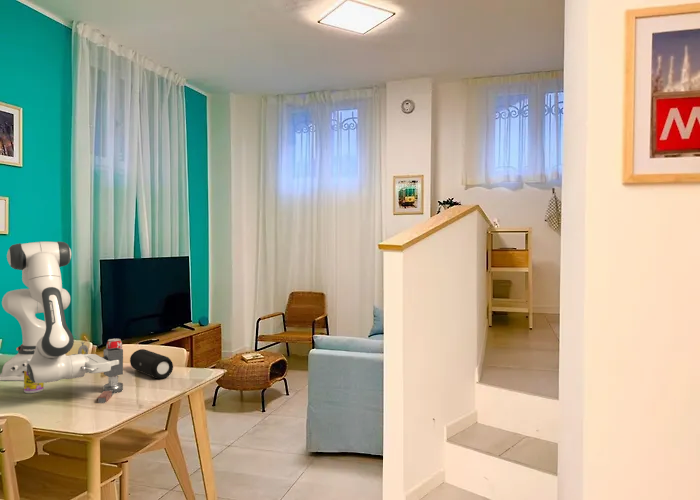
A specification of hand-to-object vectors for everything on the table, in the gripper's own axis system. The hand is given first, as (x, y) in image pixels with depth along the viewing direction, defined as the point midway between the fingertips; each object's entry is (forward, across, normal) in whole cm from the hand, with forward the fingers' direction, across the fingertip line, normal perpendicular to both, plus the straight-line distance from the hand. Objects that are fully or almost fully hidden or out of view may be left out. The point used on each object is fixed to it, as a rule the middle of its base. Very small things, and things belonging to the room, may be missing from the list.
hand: (115, 360), depth 198 cm
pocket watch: (+4, +67, +12) cm, 69 cm away
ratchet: (-4, -4, +12) cm, 14 cm away
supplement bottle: (-24, +21, +12) cm, 35 cm away
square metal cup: (-1, 0, +6) cm, 6 cm away
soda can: (+14, +47, +12) cm, 50 cm away
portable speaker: (+20, +16, +12) cm, 29 cm away
